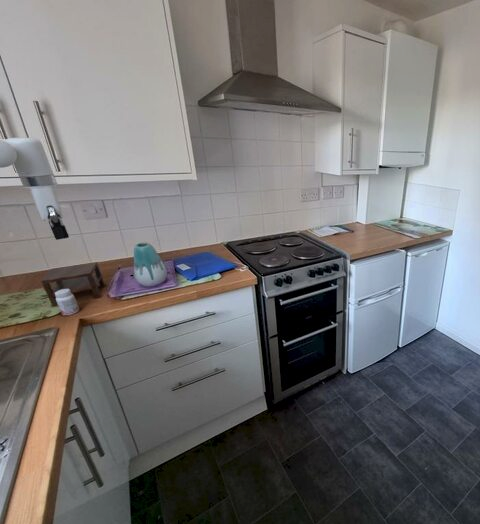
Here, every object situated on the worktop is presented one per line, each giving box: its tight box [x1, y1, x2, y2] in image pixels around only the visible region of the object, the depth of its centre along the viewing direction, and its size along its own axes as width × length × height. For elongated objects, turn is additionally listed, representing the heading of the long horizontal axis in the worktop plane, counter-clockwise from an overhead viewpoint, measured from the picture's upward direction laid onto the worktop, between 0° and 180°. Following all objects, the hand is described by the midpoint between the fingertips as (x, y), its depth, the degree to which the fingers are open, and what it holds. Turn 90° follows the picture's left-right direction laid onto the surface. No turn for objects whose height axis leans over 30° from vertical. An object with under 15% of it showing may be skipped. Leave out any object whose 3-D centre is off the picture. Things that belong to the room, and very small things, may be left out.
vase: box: [133, 242, 168, 288], centre depth 124 cm, size 12×12×18 cm
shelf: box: [40, 261, 106, 307], centre depth 116 cm, size 14×12×11 cm
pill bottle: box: [55, 289, 80, 316], centre depth 105 cm, size 5×5×8 cm
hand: (61, 235), depth 98 cm, fingers open, 9 cm apart
